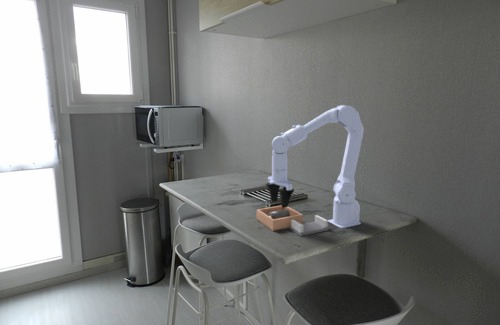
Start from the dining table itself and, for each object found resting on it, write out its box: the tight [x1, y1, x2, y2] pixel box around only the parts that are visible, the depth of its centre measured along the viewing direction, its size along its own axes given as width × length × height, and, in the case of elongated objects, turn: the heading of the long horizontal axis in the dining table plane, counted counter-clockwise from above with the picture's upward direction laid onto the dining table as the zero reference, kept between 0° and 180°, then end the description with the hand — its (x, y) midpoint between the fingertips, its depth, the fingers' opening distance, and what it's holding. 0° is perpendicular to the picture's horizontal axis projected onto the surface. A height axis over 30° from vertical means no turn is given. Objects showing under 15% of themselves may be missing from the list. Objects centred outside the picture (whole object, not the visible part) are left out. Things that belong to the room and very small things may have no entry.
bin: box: [256, 204, 304, 232], centre depth 126 cm, size 13×13×4 cm
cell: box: [268, 209, 290, 219], centre depth 126 cm, size 8×4×4 cm, turn 116°
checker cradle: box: [289, 214, 330, 237], centre depth 119 cm, size 12×7×4 cm, turn 116°
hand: (279, 204), depth 125 cm, fingers open, 7 cm apart
